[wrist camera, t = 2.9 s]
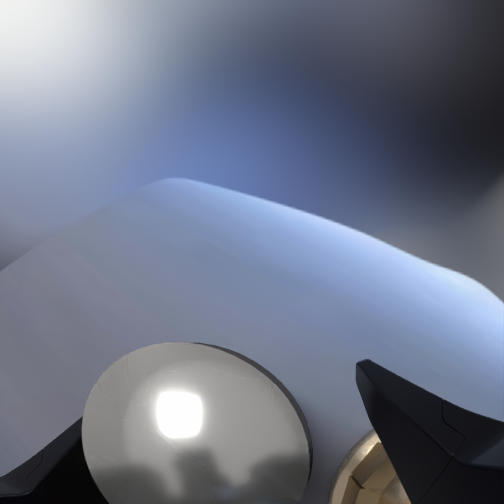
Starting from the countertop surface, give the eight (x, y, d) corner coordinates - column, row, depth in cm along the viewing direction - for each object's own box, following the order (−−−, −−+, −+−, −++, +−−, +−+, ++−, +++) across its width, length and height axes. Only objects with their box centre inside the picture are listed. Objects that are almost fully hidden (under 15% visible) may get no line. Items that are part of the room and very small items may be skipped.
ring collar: (481, 487, 8) (510, 495, 5) (351, 563, 8) (362, 590, 4) (452, 377, 13) (484, 370, 10) (306, 456, 13) (311, 474, 9)
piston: (305, 432, 13) (348, 523, 3) (229, 455, 13) (123, 551, 3) (278, 362, 16) (261, 302, 5) (205, 386, 15) (60, 364, 5)
